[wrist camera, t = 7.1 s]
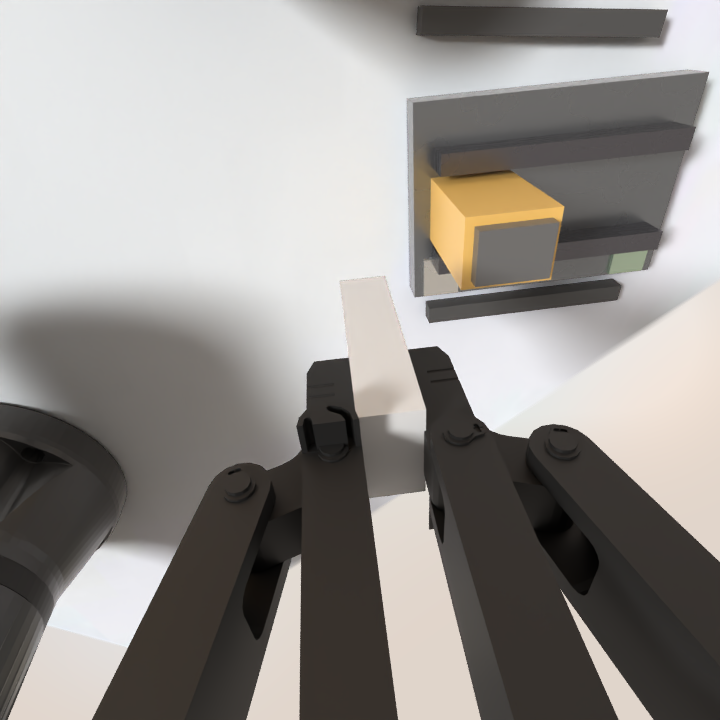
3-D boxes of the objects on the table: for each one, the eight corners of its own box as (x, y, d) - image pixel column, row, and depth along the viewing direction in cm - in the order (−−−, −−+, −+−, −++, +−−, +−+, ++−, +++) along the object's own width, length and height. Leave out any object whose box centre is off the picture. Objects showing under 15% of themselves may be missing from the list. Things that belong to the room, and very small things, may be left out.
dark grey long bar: (425, 314, 29) (429, 322, 29) (425, 301, 29) (429, 308, 28) (608, 292, 30) (617, 300, 29) (612, 278, 29) (621, 285, 28)
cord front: (416, 34, 21) (421, 35, 20) (418, 6, 20) (423, 5, 19) (645, 37, 22) (659, 37, 21) (653, 10, 21) (667, 9, 20)
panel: (409, 285, 28) (420, 309, 26) (406, 98, 22) (419, 106, 20) (632, 259, 29) (663, 280, 26) (687, 69, 23) (733, 74, 20)
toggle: (430, 239, 25) (465, 296, 20) (430, 177, 23) (469, 222, 18) (502, 231, 25) (557, 285, 20) (509, 169, 23) (571, 211, 18)
